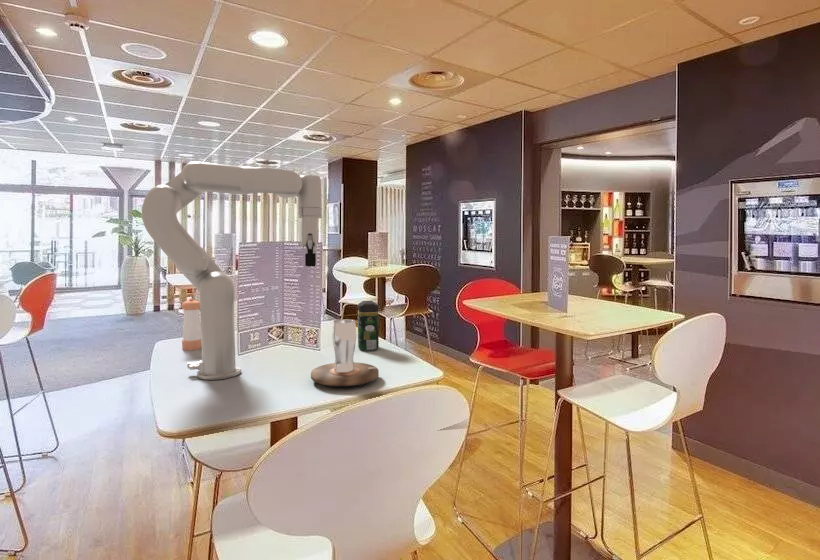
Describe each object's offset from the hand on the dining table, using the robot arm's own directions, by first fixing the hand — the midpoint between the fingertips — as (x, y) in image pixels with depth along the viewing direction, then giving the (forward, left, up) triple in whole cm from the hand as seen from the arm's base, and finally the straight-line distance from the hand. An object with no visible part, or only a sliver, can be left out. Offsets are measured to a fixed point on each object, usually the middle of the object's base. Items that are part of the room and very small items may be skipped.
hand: (310, 265), depth 150 cm
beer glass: (+10, -21, -31) cm, 38 cm away
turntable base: (+10, -21, -33) cm, 41 cm away
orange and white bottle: (-45, +29, -34) cm, 63 cm away
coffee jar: (+21, +17, -34) cm, 43 cm away
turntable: (+10, -21, -32) cm, 39 cm away
